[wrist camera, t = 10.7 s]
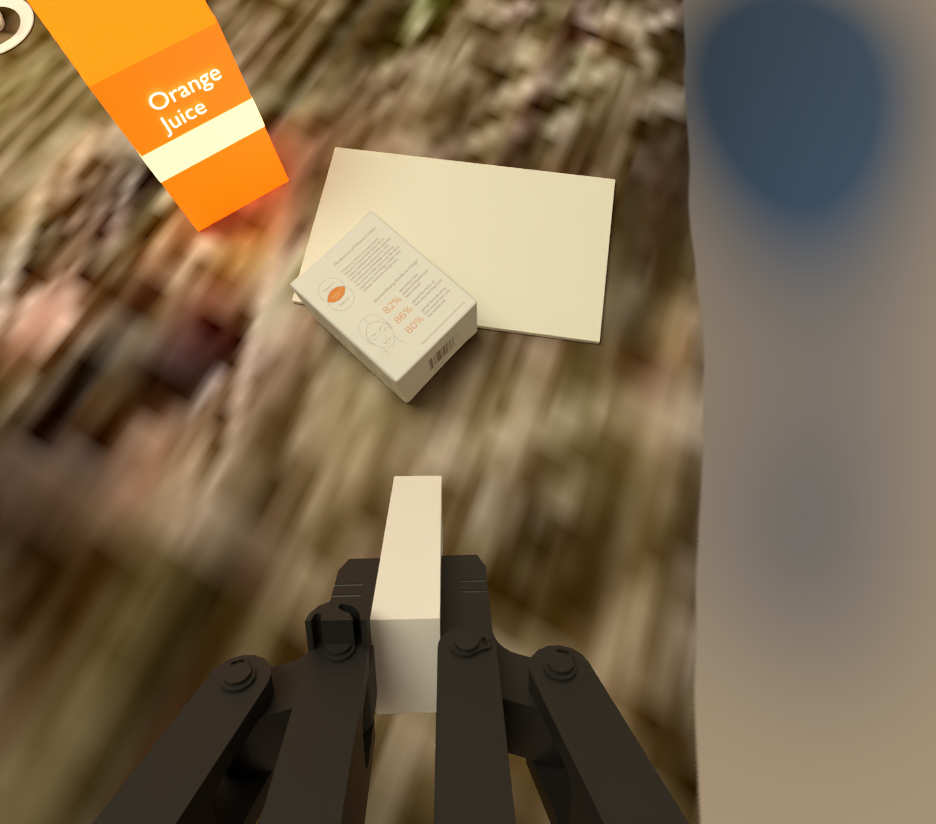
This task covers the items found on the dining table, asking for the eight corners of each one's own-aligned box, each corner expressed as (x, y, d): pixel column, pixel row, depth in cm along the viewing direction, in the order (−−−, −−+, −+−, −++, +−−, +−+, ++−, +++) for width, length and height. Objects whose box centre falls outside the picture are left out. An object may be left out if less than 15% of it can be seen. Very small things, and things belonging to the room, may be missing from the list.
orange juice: (157, 171, 50) (-39, -92, 31) (247, 123, 52) (112, -156, 33) (198, 234, 48) (16, -7, 29) (291, 181, 50) (174, -80, 31)
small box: (480, 332, 44) (384, 247, 46) (479, 301, 39) (371, 206, 41) (405, 406, 43) (310, 316, 45) (394, 384, 38) (286, 283, 40)
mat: (293, 303, 46) (292, 300, 46) (336, 150, 51) (335, 147, 50) (598, 344, 44) (599, 341, 44) (614, 182, 49) (615, 179, 49)
